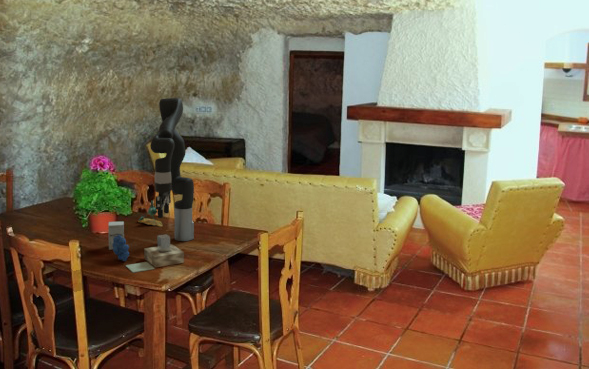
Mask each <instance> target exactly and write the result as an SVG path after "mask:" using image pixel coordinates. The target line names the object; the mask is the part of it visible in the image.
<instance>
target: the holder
mask: <svg viewBox="0 0 589 369" xmlns="http://www.w3.org/2000/svg"><path fill="white" fill-rule="evenodd" d="M143 251H144V253H143V254H144V256H143V258H144V260H145V261H146V262H148V263H149V264H150V265H151V266H153V267H154V268H159V267H160V268H161V267H165V266H167V267H168V266H172V265H178V264H183V263H185V252H184V251H183V250H181V248H178V247H177V246H175V245H174V244H170V252H165V253H159V252H158V247H157V246H151V247H146V248H145V247H144V248H143Z"/></svg>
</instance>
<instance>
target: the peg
mask: <svg viewBox="0 0 589 369" xmlns="http://www.w3.org/2000/svg"><path fill="white" fill-rule="evenodd" d="M156 237H157V238H156V239H157V241H156V242H157V245H156V247H158V252H159V253H165V252H170V245H171V236H170V235H168V234H159V235H156Z"/></svg>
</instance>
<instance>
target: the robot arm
mask: <svg viewBox="0 0 589 369" xmlns="http://www.w3.org/2000/svg"><path fill="white" fill-rule="evenodd" d="M158 107H159V112H160V113H159V114H160V118H161V123H160V124H159V128H158V132H156V134H155V135H154V136H153V138H152V139H151V140H150V144H149V147H150V150H151V151H152V152H153V153H155V154H165V156H164V157H159V158H156V159H155V160H154V192H156V193H158V195H156V196H155V207H156V210H157V211H158V212H157V218H158V219H162V218H164V214H169V213H170V204H171V202H172V201H171V198H172V197H171V192H172V193H173V194H175V195H181V199H180V200H176V201H175V202H174V206H173V208H174V212H173V213H174V216H173V217H174V240H175V241H177V242H188V241H191V240H194V237H195V235H194V234H195V229H194V228H195V222H194V221H193V203H194V194H195V183H194V179H192V178H190V177H184V176H182V175H181V165H182V163H183V161H184V160H185V157H186V146H185V144H186V143H185V140H184V138H183V137H182V135H181V134H180V133H179V132H178V131H177V129H176V127H177V125H178V123H179V121H180V120H181V117H182V116H183V111H184V104H183V101H182V99H181V98H180V97H171V98H169V97H168V98H161V99H160V100H159V104H158Z"/></svg>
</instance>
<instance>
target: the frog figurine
mask: <svg viewBox="0 0 589 369" xmlns="http://www.w3.org/2000/svg"><path fill="white" fill-rule="evenodd" d="M153 202H154V201H153V200H151V201H150V206H149V208H148V209H147V211H145V212H144V214H146V216H147V218H145V217H144V216H143V215H141V216H140V217H139V218H138V221H137V222H138V223H141V224H146V225H149V226H156V227H163V222H161V220H157V219H155V217H154V216H156V214H157V213H158V210H157V209H156V206H154V203H153ZM148 215H149V216H150V217H149V216H148ZM151 217H152V218H151Z"/></svg>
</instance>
